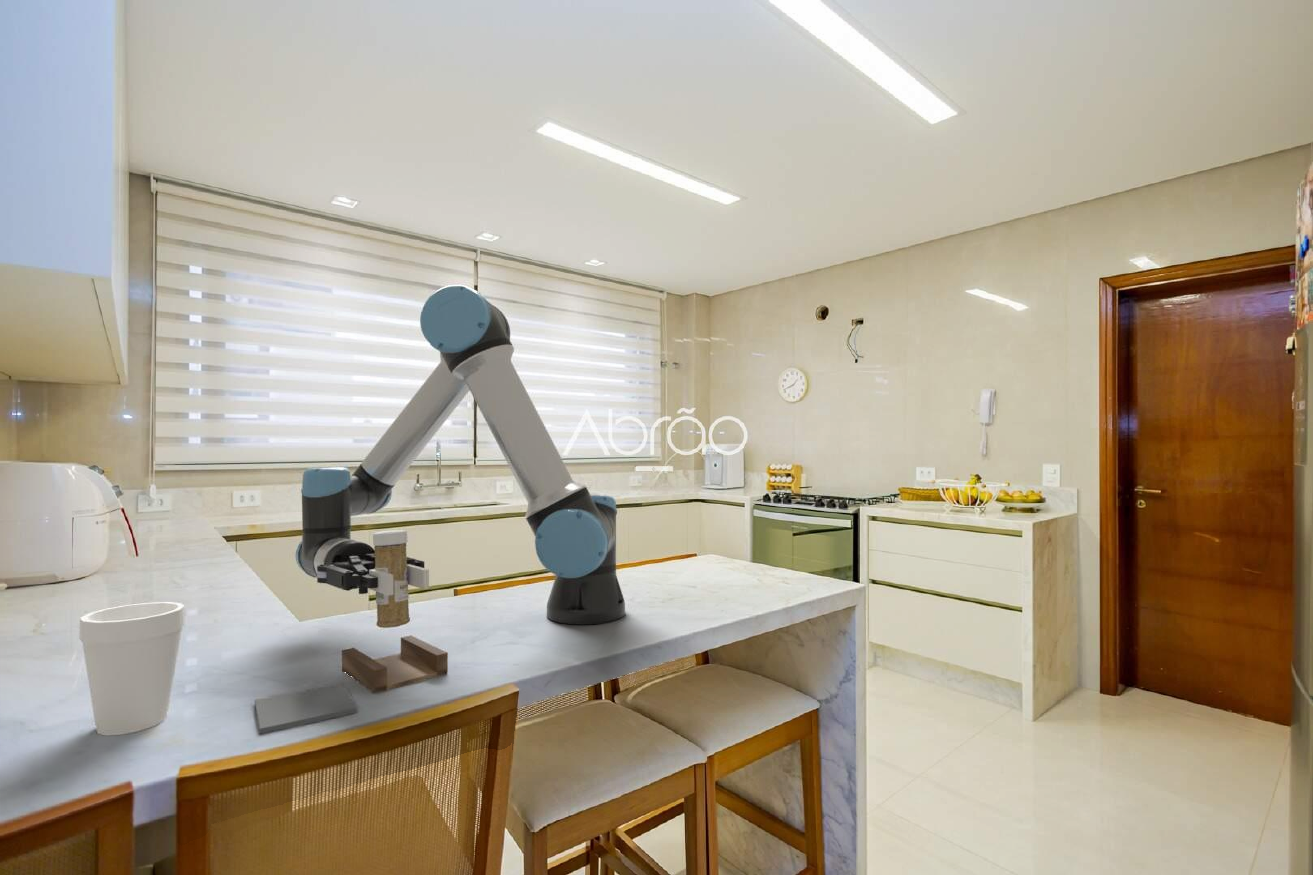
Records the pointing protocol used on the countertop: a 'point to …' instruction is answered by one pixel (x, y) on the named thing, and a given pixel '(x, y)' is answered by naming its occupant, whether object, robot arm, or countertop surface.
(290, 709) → the slate coaster
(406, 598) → the spice jar
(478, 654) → the countertop surface
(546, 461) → the robot arm
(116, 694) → the foam cup
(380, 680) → the walnut cradle
